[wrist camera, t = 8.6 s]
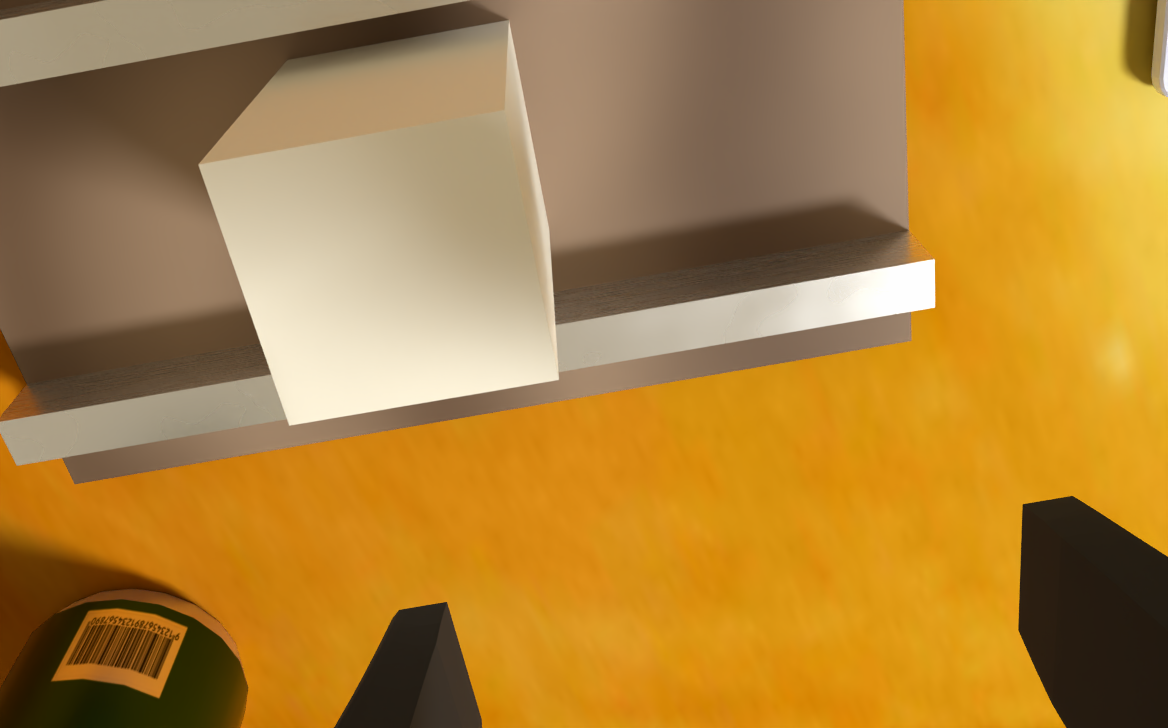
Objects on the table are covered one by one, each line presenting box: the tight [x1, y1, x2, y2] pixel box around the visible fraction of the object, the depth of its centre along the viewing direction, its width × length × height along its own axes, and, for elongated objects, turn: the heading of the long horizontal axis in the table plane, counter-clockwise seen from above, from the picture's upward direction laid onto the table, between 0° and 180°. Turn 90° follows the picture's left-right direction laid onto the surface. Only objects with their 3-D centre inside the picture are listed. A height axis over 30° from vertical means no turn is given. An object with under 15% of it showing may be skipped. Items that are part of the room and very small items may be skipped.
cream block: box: [198, 20, 559, 426], centre depth 17 cm, size 4×4×6 cm
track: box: [0, 0, 935, 484], centre depth 20 cm, size 18×11×2 cm, turn 99°
